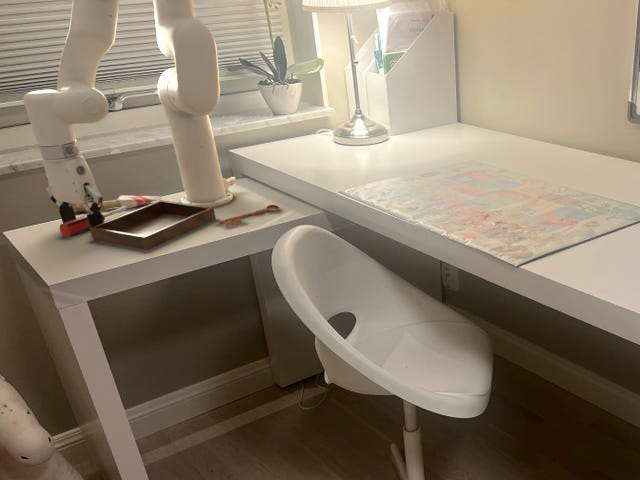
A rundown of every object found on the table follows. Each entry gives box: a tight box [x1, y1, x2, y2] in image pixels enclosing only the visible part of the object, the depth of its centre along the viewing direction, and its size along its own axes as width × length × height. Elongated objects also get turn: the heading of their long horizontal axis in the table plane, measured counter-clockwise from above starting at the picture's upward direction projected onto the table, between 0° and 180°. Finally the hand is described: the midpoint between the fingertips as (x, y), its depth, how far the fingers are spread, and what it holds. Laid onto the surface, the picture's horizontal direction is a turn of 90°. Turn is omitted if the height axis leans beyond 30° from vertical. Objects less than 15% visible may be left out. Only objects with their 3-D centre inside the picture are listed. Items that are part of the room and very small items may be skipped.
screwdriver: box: [59, 206, 128, 238], centre depth 170 cm, size 17×3×3 cm, turn 155°
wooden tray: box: [89, 199, 217, 251], centre depth 165 cm, size 21×17×3 cm
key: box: [218, 204, 281, 227], centre depth 172 cm, size 6×1×15 cm
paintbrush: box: [74, 194, 163, 213], centre depth 180 cm, size 4×3×20 cm
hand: (84, 226), depth 167 cm, fingers open, 8 cm apart
